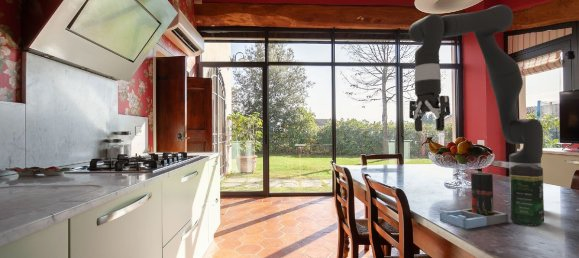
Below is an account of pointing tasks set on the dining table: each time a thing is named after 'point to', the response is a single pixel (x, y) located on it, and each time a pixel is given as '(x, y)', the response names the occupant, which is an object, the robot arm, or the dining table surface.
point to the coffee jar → (527, 194)
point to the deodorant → (482, 194)
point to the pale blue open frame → (472, 218)
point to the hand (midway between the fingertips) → (428, 131)
